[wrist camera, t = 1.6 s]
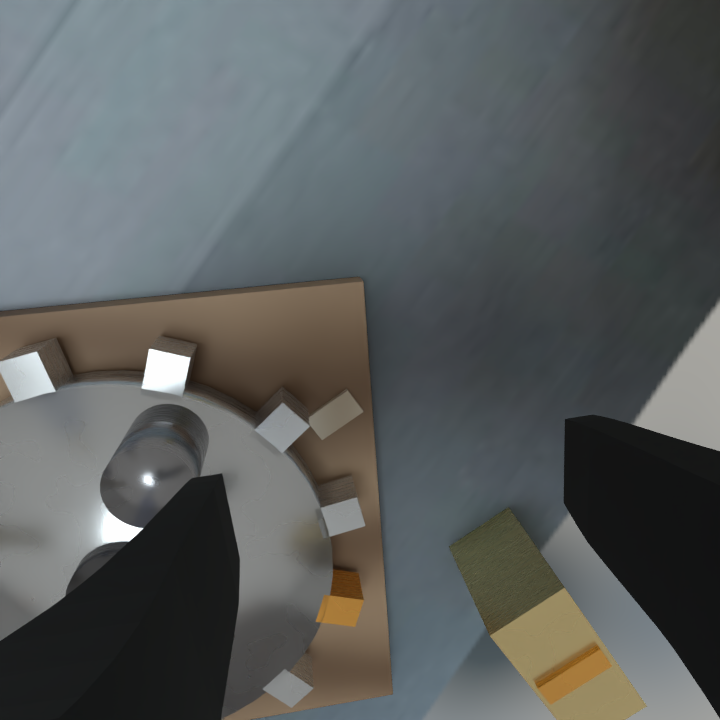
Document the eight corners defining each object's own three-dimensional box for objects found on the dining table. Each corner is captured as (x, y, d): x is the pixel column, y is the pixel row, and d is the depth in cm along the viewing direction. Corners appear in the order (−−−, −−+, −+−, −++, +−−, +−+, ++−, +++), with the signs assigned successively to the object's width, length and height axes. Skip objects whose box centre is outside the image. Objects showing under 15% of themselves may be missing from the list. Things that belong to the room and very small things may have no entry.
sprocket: (375, 689, 24) (396, 800, 20) (-41, 762, 22) (-117, 901, 18) (343, 308, 19) (362, 346, 14) (-202, 364, 17) (-363, 425, 13)
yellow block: (580, 610, 26) (650, 710, 21) (525, 645, 26) (582, 753, 21) (507, 506, 24) (567, 591, 19) (448, 545, 24) (492, 640, 19)
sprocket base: (388, 675, 25) (393, 698, 24) (-38, 749, 23) (-54, 777, 22) (359, 276, 20) (364, 282, 19) (-205, 330, 18) (-238, 341, 17)
